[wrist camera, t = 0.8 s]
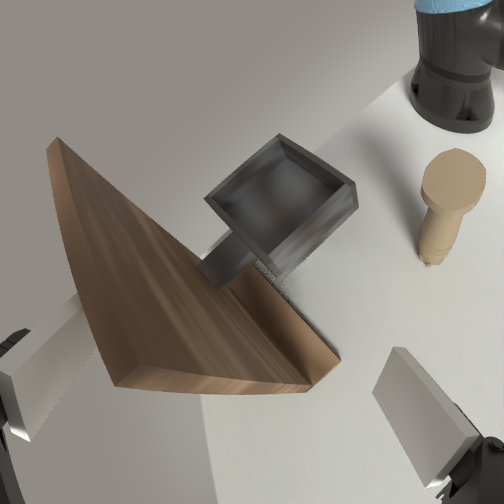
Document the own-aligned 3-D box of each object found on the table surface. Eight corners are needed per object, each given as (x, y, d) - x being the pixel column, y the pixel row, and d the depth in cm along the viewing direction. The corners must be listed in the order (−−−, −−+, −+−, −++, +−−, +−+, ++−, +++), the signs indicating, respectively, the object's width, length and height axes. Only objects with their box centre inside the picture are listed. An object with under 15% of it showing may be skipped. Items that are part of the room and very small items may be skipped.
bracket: (306, 200, 41) (218, 7, 18) (411, 290, 32) (462, 65, 8) (216, 283, 41) (46, 148, 18) (305, 392, 31) (114, 386, 8)
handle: (399, 260, 34) (409, 183, 21) (431, 225, 34) (450, 140, 21) (428, 287, 31) (458, 222, 18) (460, 250, 31) (496, 172, 18)
